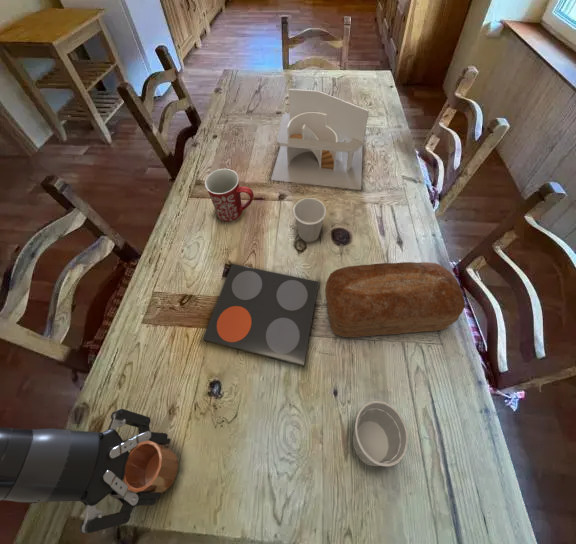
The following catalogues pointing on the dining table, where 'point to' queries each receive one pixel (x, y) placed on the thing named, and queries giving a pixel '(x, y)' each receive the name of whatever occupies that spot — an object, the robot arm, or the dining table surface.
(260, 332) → the stove
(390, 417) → the cup
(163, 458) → the cup
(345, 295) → the bread
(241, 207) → the mug
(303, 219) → the dixie cup
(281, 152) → the architectural model
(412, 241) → the dining table surface
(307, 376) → the dining table surface
